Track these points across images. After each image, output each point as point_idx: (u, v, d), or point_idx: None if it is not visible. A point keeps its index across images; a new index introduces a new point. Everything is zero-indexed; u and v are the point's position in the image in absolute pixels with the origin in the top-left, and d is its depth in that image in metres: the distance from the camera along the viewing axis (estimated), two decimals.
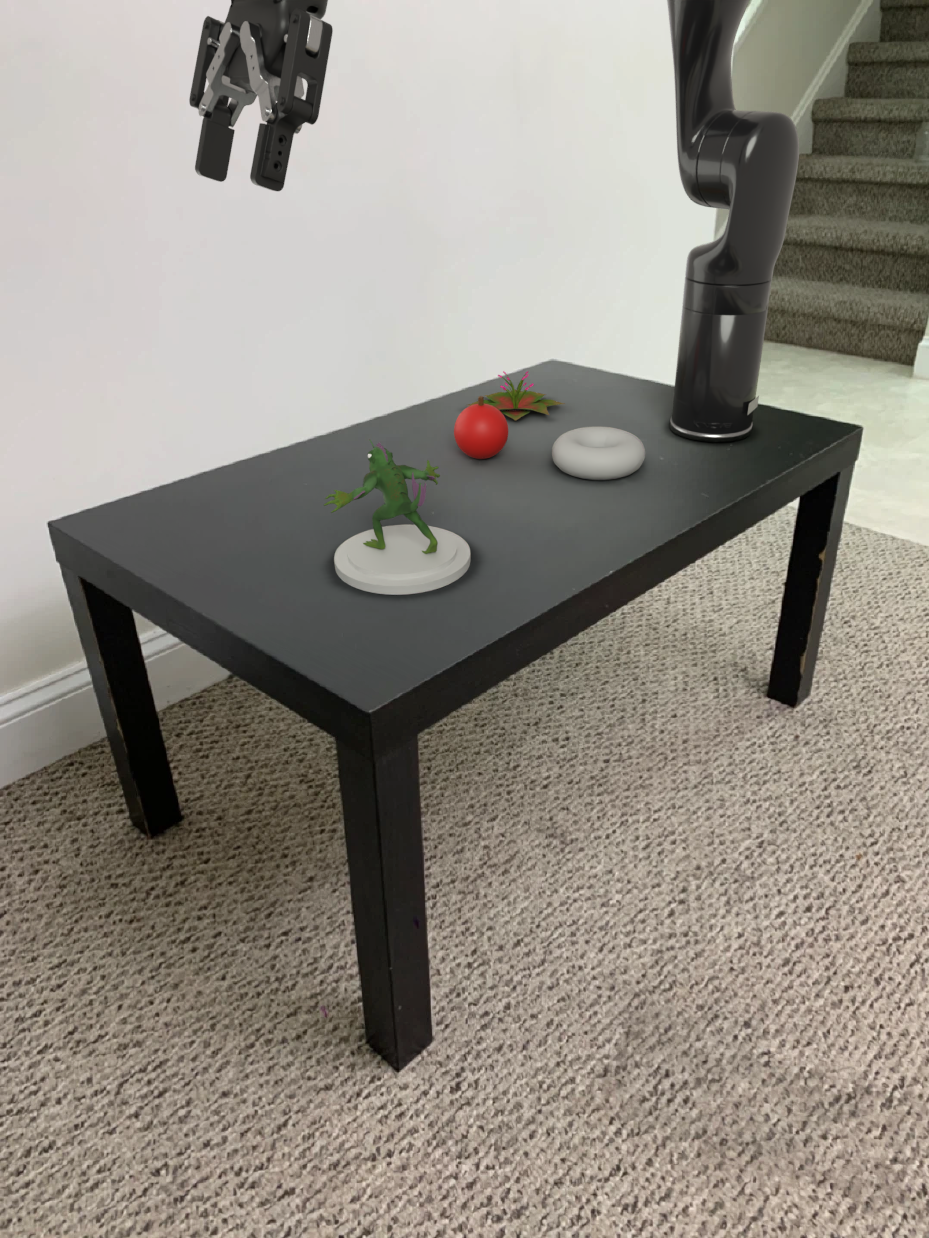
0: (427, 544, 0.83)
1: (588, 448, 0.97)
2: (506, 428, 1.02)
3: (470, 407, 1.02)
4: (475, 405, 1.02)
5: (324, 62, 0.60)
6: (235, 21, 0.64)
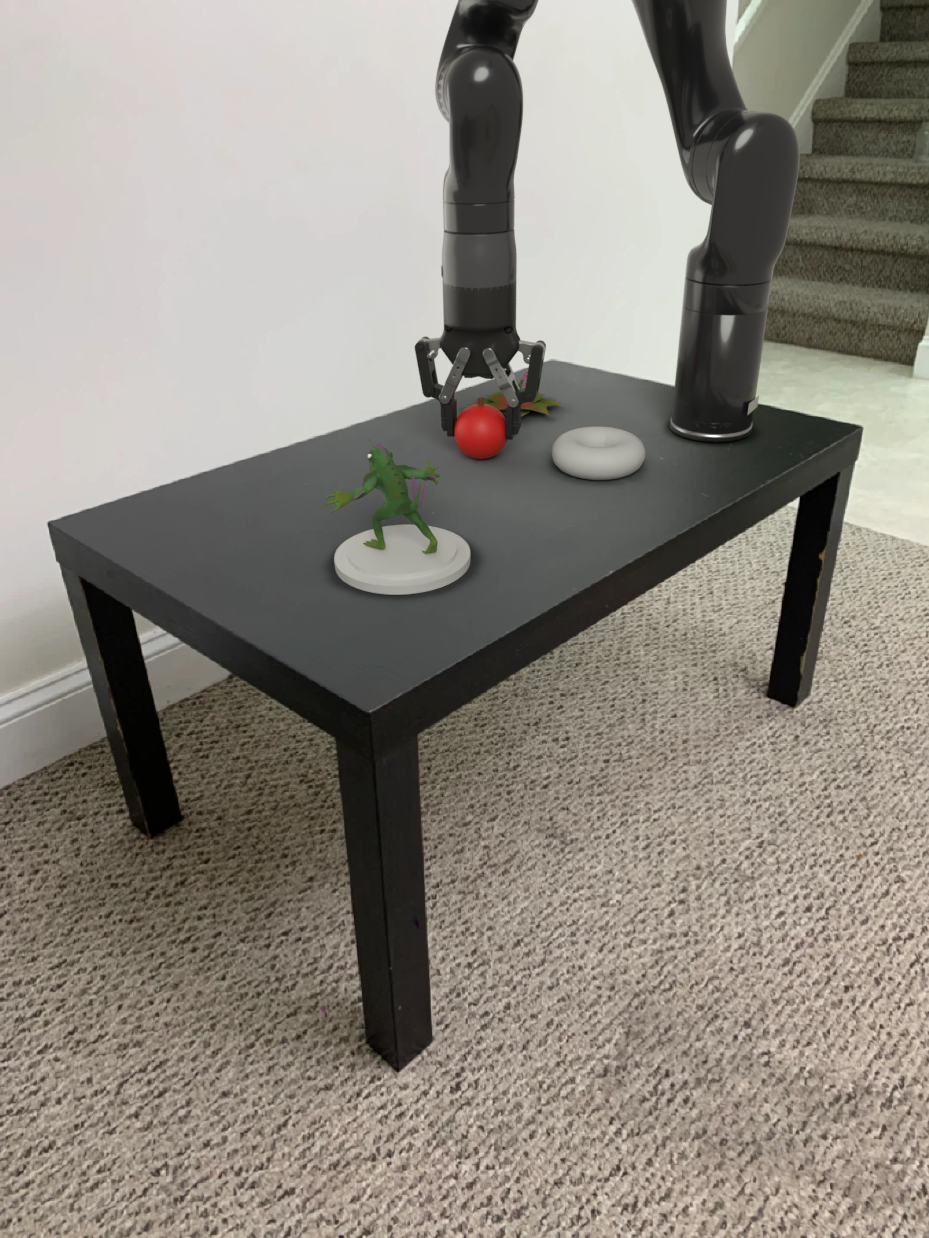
0: (427, 544, 0.83)
1: (588, 448, 0.97)
2: None
3: (470, 407, 1.02)
4: (475, 405, 1.02)
5: (542, 364, 0.99)
6: (459, 341, 0.98)
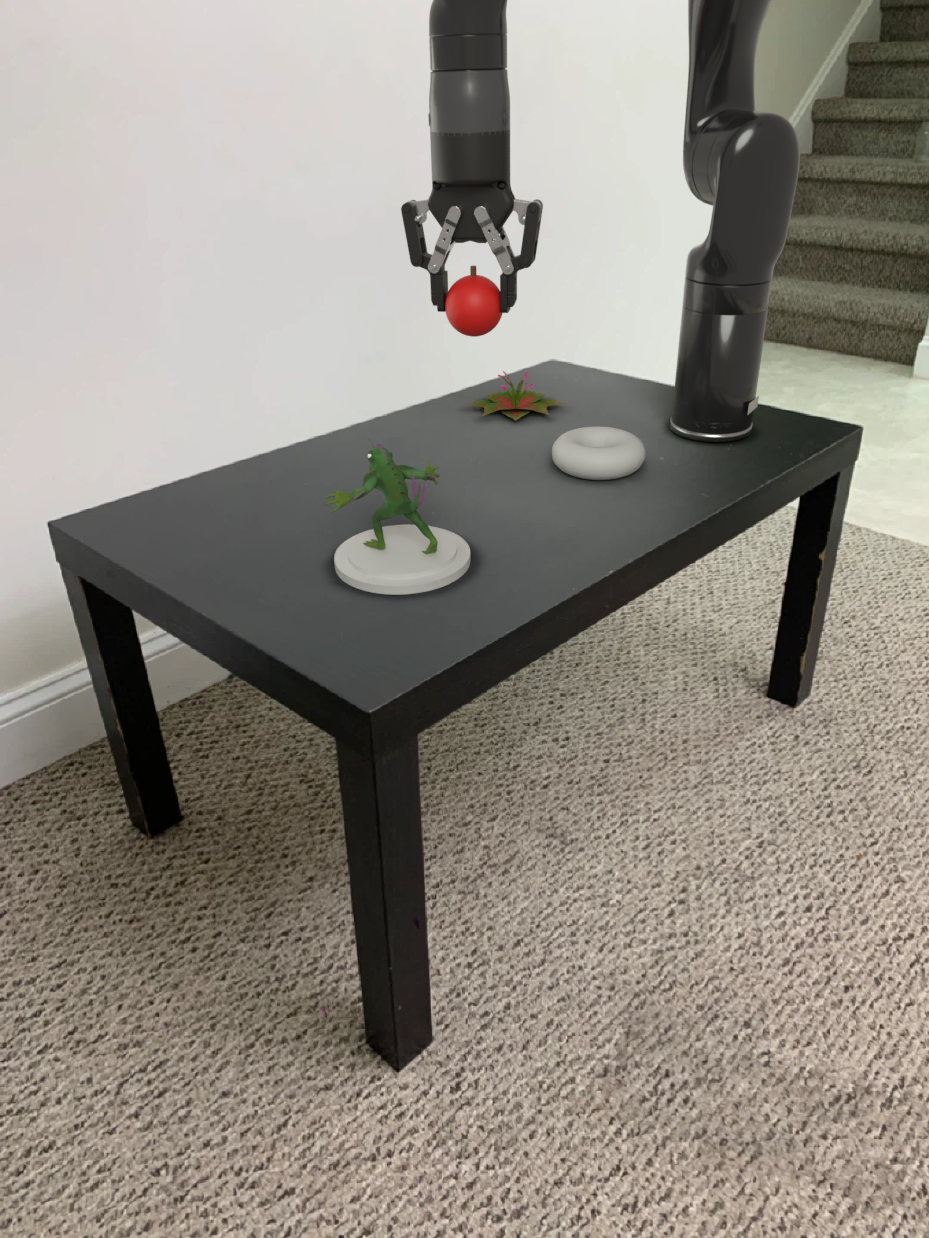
0: (427, 544, 0.83)
1: (588, 448, 0.97)
2: None
3: (462, 278, 0.95)
4: (467, 276, 0.95)
5: (539, 226, 0.92)
6: (448, 200, 0.90)
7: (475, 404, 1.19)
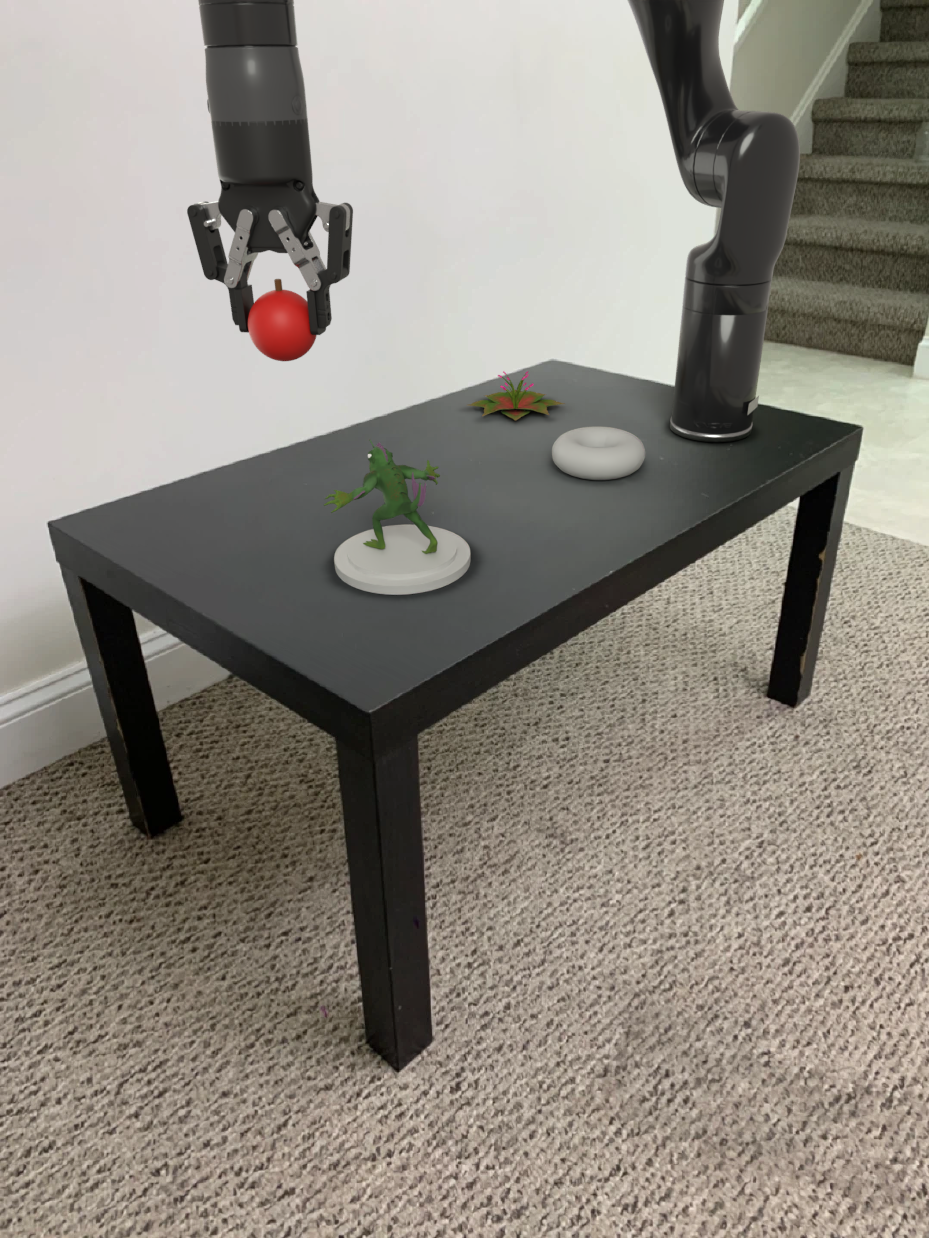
0: (427, 544, 0.83)
1: (588, 448, 0.97)
2: None
3: (265, 293, 0.81)
4: (272, 291, 0.81)
5: (350, 234, 0.78)
6: (240, 202, 0.76)
7: (475, 404, 1.19)
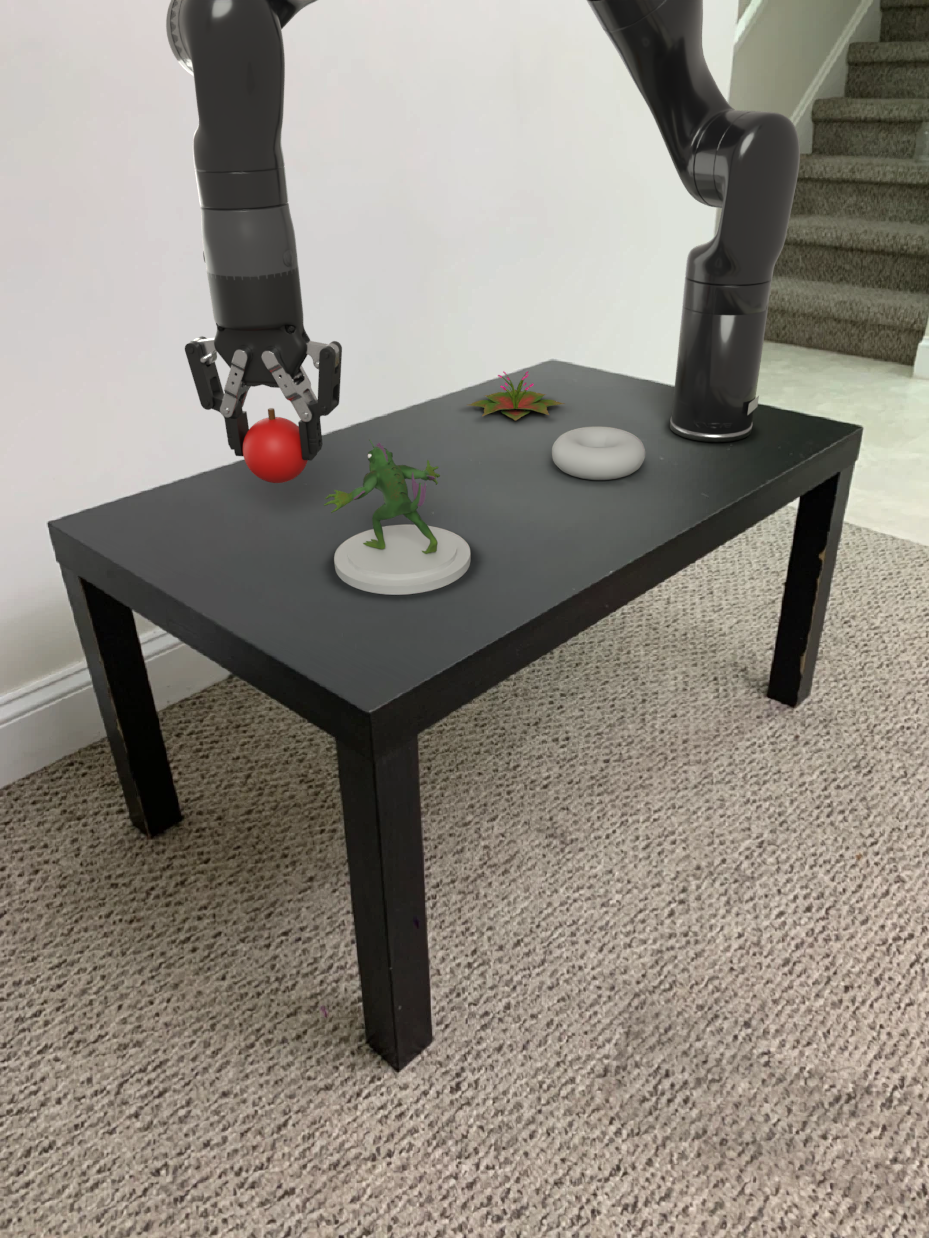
0: (427, 544, 0.83)
1: (588, 448, 0.97)
2: None
3: (259, 421, 0.85)
4: (265, 419, 0.85)
5: (340, 369, 0.82)
6: (235, 342, 0.81)
7: (475, 404, 1.19)
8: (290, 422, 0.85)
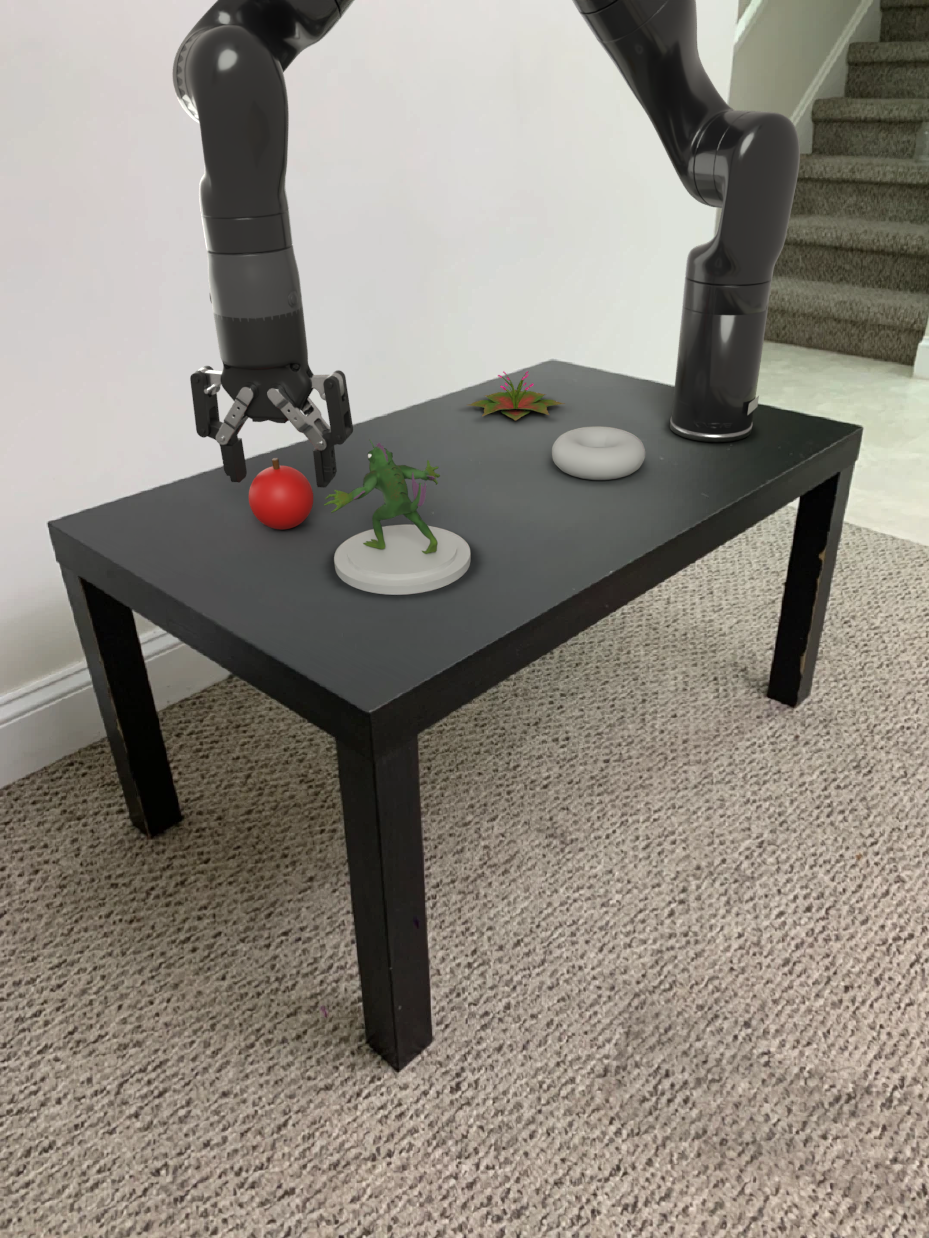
0: (427, 544, 0.83)
1: (588, 448, 0.97)
2: (308, 494, 0.87)
3: (264, 471, 0.87)
4: (270, 468, 0.87)
5: (347, 396, 0.83)
6: (241, 379, 0.82)
7: (475, 404, 1.19)
8: (294, 471, 0.87)
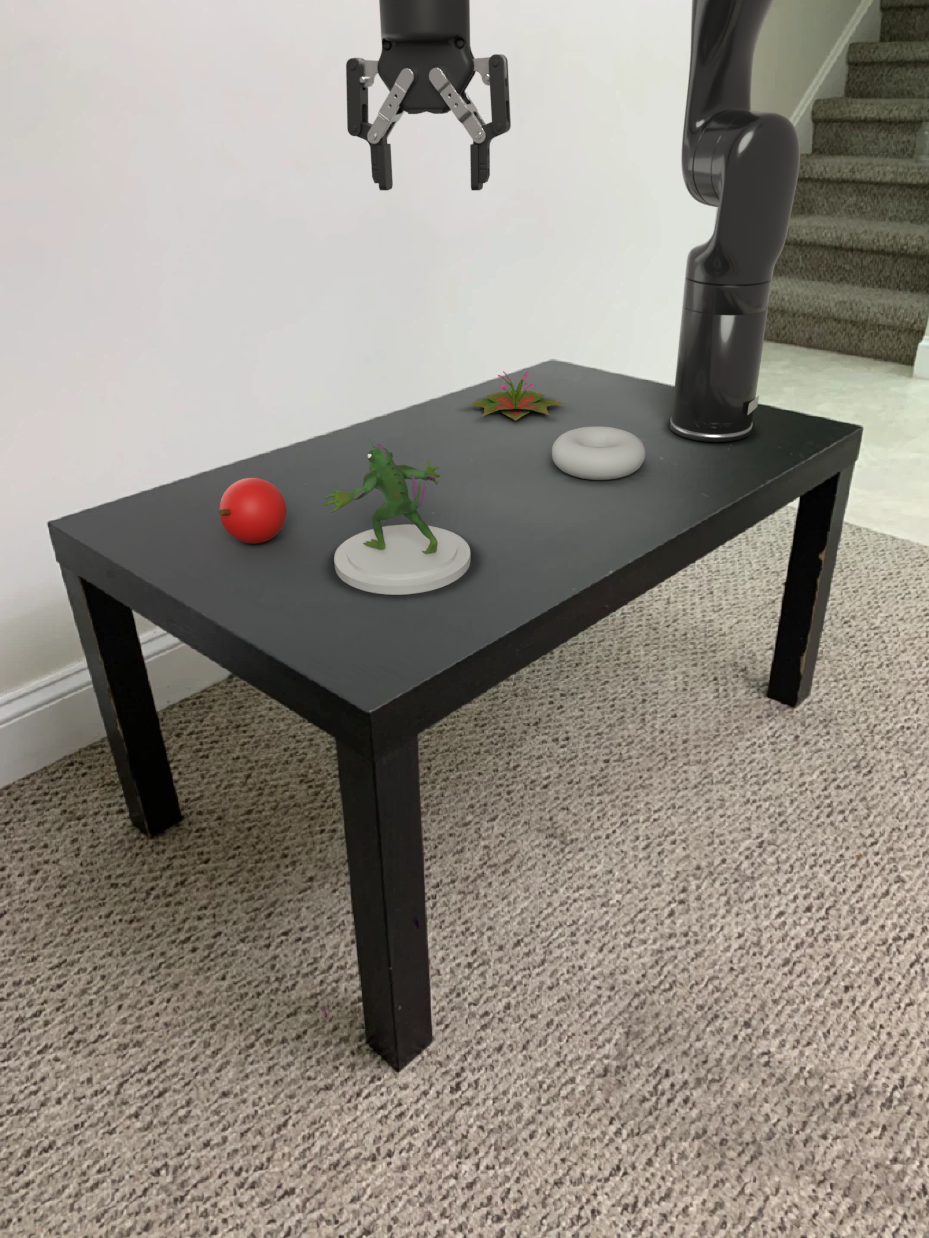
0: (427, 544, 0.83)
1: (588, 448, 0.97)
2: (271, 508, 0.84)
3: (222, 517, 0.84)
4: None
5: (508, 85, 0.81)
6: (400, 63, 0.80)
7: (475, 404, 1.19)
8: (242, 502, 0.83)
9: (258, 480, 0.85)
